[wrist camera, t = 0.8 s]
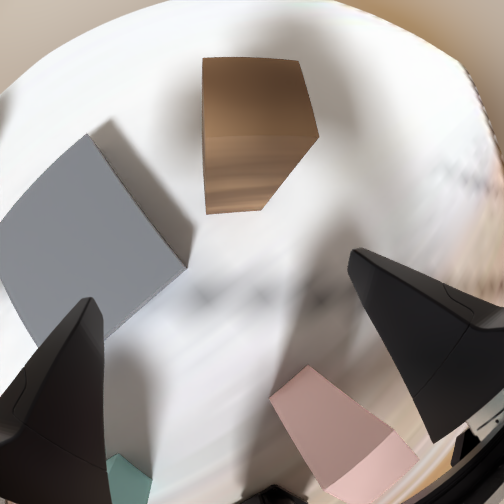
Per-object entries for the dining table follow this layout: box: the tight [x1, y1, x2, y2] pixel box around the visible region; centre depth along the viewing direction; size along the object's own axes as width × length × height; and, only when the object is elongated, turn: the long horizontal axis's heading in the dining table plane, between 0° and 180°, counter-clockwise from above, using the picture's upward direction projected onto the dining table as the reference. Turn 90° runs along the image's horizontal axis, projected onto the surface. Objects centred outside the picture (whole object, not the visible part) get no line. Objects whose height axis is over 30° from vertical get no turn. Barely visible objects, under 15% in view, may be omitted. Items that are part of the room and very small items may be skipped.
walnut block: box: [202, 57, 319, 215], centre depth 16 cm, size 4×4×12 cm
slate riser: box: [0, 134, 187, 348], centre depth 18 cm, size 14×14×3 cm
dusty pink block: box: [269, 365, 420, 504], centre depth 15 cm, size 4×4×12 cm
